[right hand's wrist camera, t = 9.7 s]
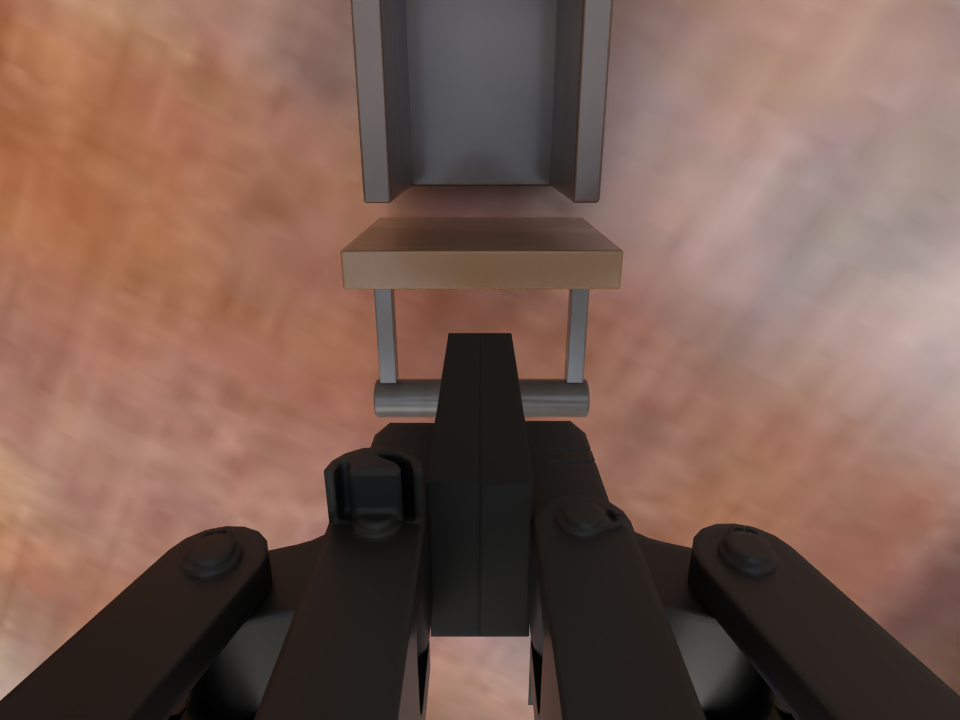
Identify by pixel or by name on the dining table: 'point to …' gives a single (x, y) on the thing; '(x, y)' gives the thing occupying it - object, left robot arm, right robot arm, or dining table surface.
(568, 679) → the right robot arm
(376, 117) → the drawer
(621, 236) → the dining table surface
